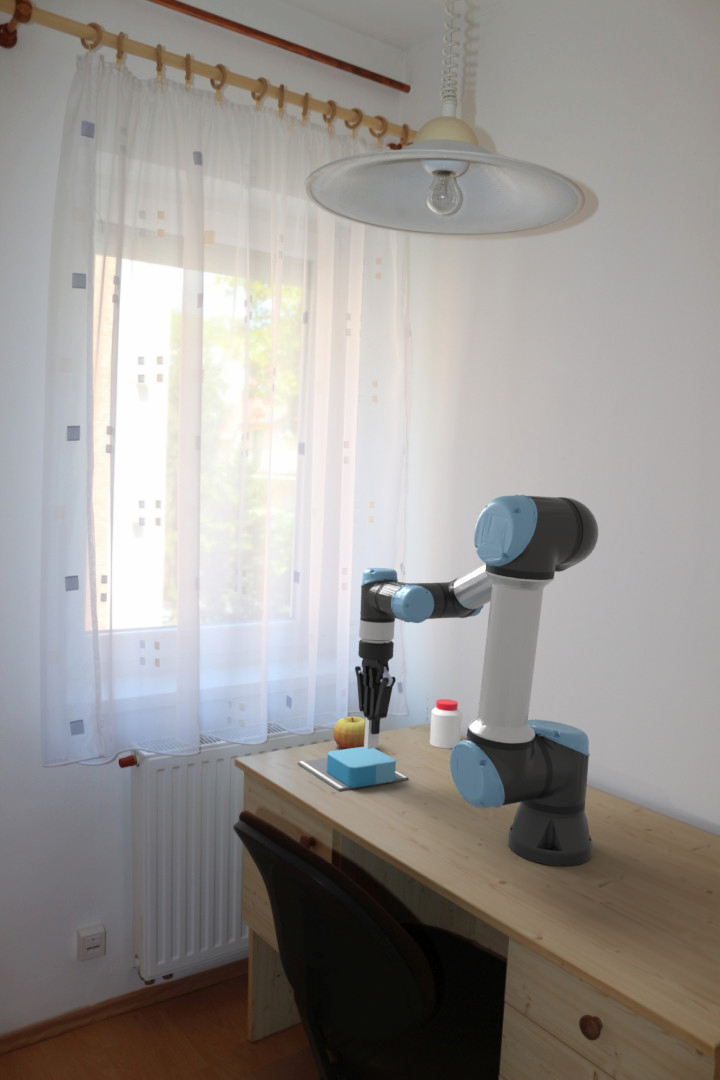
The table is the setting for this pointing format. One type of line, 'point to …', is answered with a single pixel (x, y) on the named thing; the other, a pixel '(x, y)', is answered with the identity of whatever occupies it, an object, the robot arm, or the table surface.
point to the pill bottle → (445, 724)
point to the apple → (349, 732)
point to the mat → (320, 771)
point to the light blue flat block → (361, 766)
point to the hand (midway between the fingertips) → (371, 747)
